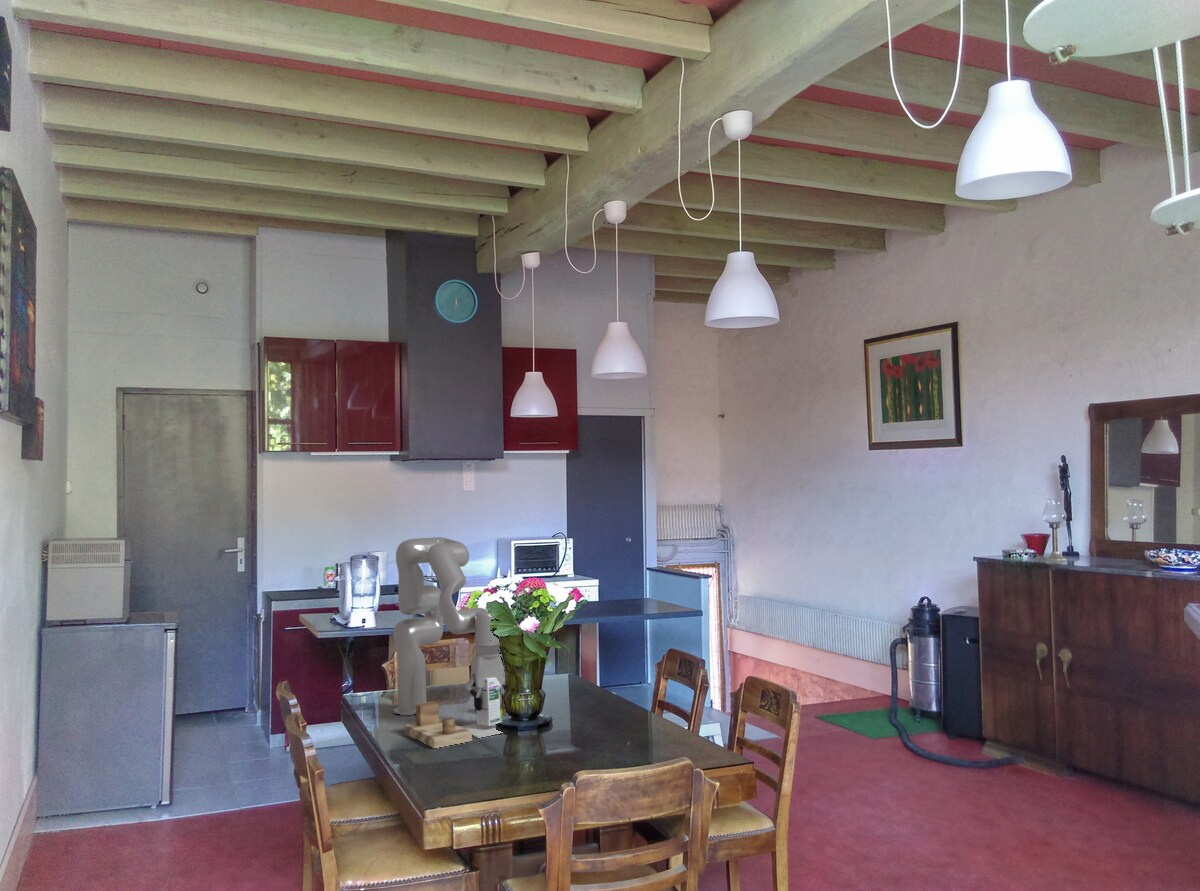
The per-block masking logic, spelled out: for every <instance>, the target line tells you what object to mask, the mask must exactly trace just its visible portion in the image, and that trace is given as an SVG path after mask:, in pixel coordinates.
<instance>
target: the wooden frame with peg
mask: <svg viewBox="0 0 1200 891" xmlns="http://www.w3.org/2000/svg"><path fill="white" fill-rule="evenodd" d="M439 705H440V704H439V703H438V702H437V701H426V703H420V704H415V712H416V715H415V722H414V723H413V722H412V723H409V724H408V723H407V724H405V725H404V727H405V730H404V731H405V735H406V734H407V735H409V736H411V737H413V738H415V739H417V740H419V741H421V742H423V743H424V745H425V744H426V746H427V745H428V747H429V746H430V747H429V748H431V747H432V749H433V748H437V749H440V748H439V747H442V748H445V747H444V746H447V747H450V746H449V745H453V746H455V745H454V744H458V745H461V744H460V743H463V744H466V743H465V742H469V741H472V742H473V736H472V732H471V731H469V730H467V729H464V728H462V727H460V725H457V724H456V723H455V722H456V721H455V718H453V717H447V718H446V717H445V718H440V712H439V711H440V709H439V707H440V706H439ZM407 735H406V736H407ZM409 736H408V737H409ZM411 737H410V738H411ZM413 738H412V739H413ZM415 739H414V740H415ZM417 740H416V741H417ZM419 741H418V742H419ZM421 742H420V743H421ZM423 743H422V744H423ZM469 743H470V742H469Z"/></svg>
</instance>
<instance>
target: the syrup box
mask: <svg viewBox="0 0 1200 891" xmlns="http://www.w3.org/2000/svg"><path fill="white" fill-rule="evenodd" d="M480 698H481V703H482V710H481V711H478V710H476V722H477V723H478V724H481V725H486V726H491V725H494V724H498V723H501V722H503V721H502V720H503V717H502V695H501V685H500V683H499V681H498V680H497V678H495V677H494V678H486V679H485V688H484V689H482V691H481V694H480ZM477 723H476V724H477Z"/></svg>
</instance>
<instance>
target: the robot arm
mask: <svg viewBox="0 0 1200 891" xmlns="http://www.w3.org/2000/svg"><path fill="white" fill-rule="evenodd" d="M469 560H470V552H469V550H468V547H467V546H466V545H465V544H464V543H462V542H460V541H457V540H454V539H450V538H447V537H446V538H445V537H441V536H439V537H438V536H437V537H435V536H434V537H421V538H417V537H416V538H409V539H406V540H404V541H402V542H401V543H400V544H399V545H398V547H397V549H396V551H395V563H396V567H397V572H398V589H397V590H398V594H397V595H398V597H397V599H398V609H399V611H400V613H401V614H403V615H407V616H412V615H413V616H414V615H421V614H424V616H419V617H412V618H411V617H410V618H406V619H403V620H400V621H398V622H397V623H396V624H395V625H394V628H393V639H394V645H395V650H396V665H397V666H396V668H397V669H396V670H397V704H398V706H397V707H395V708H394V709H393V714H394V713H396V714H400V715H399V716H415V715H414V714H416V712H415V704H420V703H426V702H427V673H426V666H427V665H426V656H425V654H424V653H423V651H422V649H421V647H420V646H423V645H424V646H425V645H430V644H431V645H432V644H435V643H438V642H439V641H440V640H441V639H442V638H443V637H442V636H443V633H444V625H445V627H446V628H447V630H448V631H449V632H450V633H451V634H454V635H464V634H470V633H474V635H475V639H474V640H475V641H474V642H475V655H473V656H472V660H471V667H470V668H471V669H470V679H469V680H468V681H467V683H466V684H465V685H464V689H466V690H467V692H468V693H469V694H470V695H472V697H473V707H474V708H475V710H476V711H477V710H478V711H481V710H482V703H481V698H480V694H481V691H482V689H484V688H485V679H486V678H494V677H495V678H497V680H498V681H499V683H500V685H501V695H502V707H503V703H504V697H503V694H504V693H505V691H506V689H507V685H506V678H505V674H506V671H504V670H505V665H504V666H503V663H504V662H503V663H502V660H501V657H502V659H503V654H502V653H501V650H500V648H499V647H500V645H501V644H500V643H501V642H499V639H500V638H499V639H498V638H497V637H496V636H494V635H493V633H492V631H490V629H489V628H490V625H489V623H490V621H491V619H492V617H491V616H490V615H489V614H488V612H487V611H486V610H487V609H486V610H485V608H483V607H472V608H466V609H463V608H462V609H457V607H456V606H455V603H454V601H453V595H454V594H456V593H457V592H459V591H460V590H461V589H463V587H464V586H465V585H466V582H467V578H466V576H465V573H464V572H463V570H462V567H464V566H467V564H468V563H469ZM425 563H426V564H427V563H428V564H429V566H430V568H431V569H432V572H433V574H434V576H435V577H436V580H437V582H438V585H439V586H440V587H438V586H436V585H434V584H426V585H425V584H424V577H425V575H424V571H423V570H422V568H421V566H420V564H425ZM440 588H441V589H440ZM490 640H491V641H490ZM498 650H499V651H498ZM499 653H501V654H499ZM500 656H501V657H500ZM503 660H504V659H503ZM473 688H474V689H473ZM396 714H395V715H396Z"/></svg>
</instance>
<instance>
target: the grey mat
mask: <svg viewBox="0 0 1200 891" xmlns="http://www.w3.org/2000/svg"><path fill="white" fill-rule="evenodd" d="M459 726H460V725H459ZM460 727H462V728H464V729H467V730H469V731H471V732H472V735H473V736H475V737H477V738H480V739H482V738H481V737H486V736H491V735H495V734H500V733H503V732H501V731H498V730H496V728H495V727H496V726H495V724H494V725H491V726H486V725H481V724H478V723H473V724H472V723H471V724H466V725H461V726H460ZM473 736H472V737H473ZM475 737H474V738H475ZM491 737H492V736H491ZM477 738H476V739H477ZM486 738H487V737H486Z"/></svg>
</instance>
